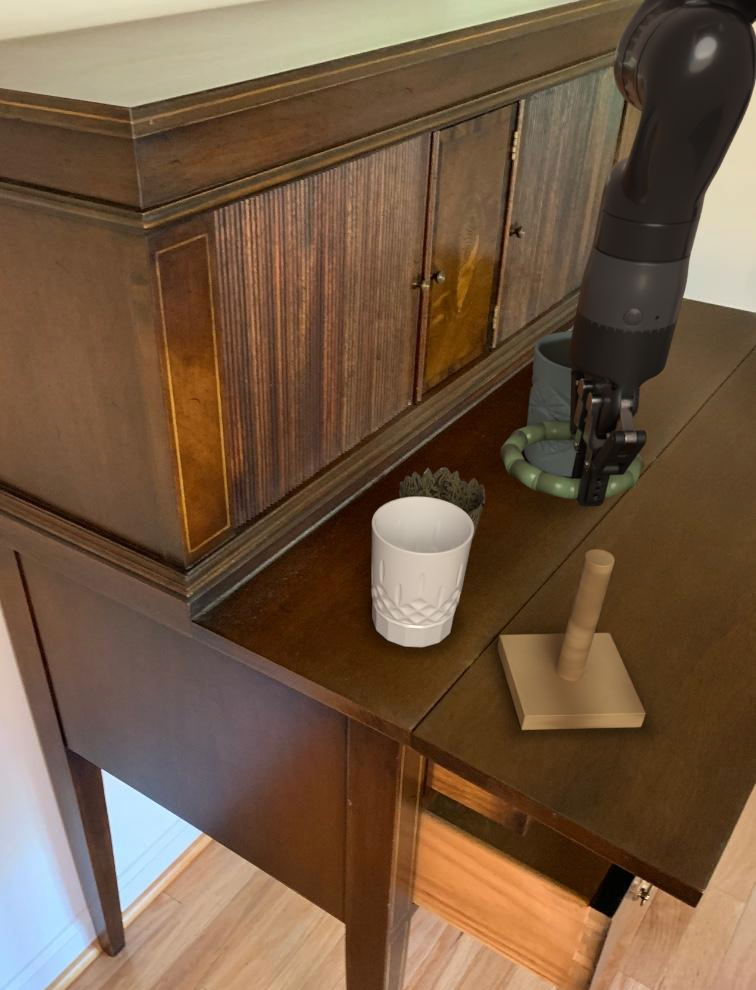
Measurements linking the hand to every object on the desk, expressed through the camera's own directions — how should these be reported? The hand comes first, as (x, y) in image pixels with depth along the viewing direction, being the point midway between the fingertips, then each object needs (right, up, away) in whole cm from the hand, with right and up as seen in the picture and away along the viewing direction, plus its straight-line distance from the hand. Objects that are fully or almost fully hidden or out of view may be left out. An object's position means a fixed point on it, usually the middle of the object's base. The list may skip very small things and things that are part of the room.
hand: (585, 496), depth 82 cm
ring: (0, +4, +4) cm, 5 cm away
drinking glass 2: (+3, +6, +18) cm, 19 cm away
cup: (-13, -6, +2) cm, 15 cm away
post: (-5, -16, -10) cm, 19 cm away
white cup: (-16, -11, -4) cm, 20 cm away
